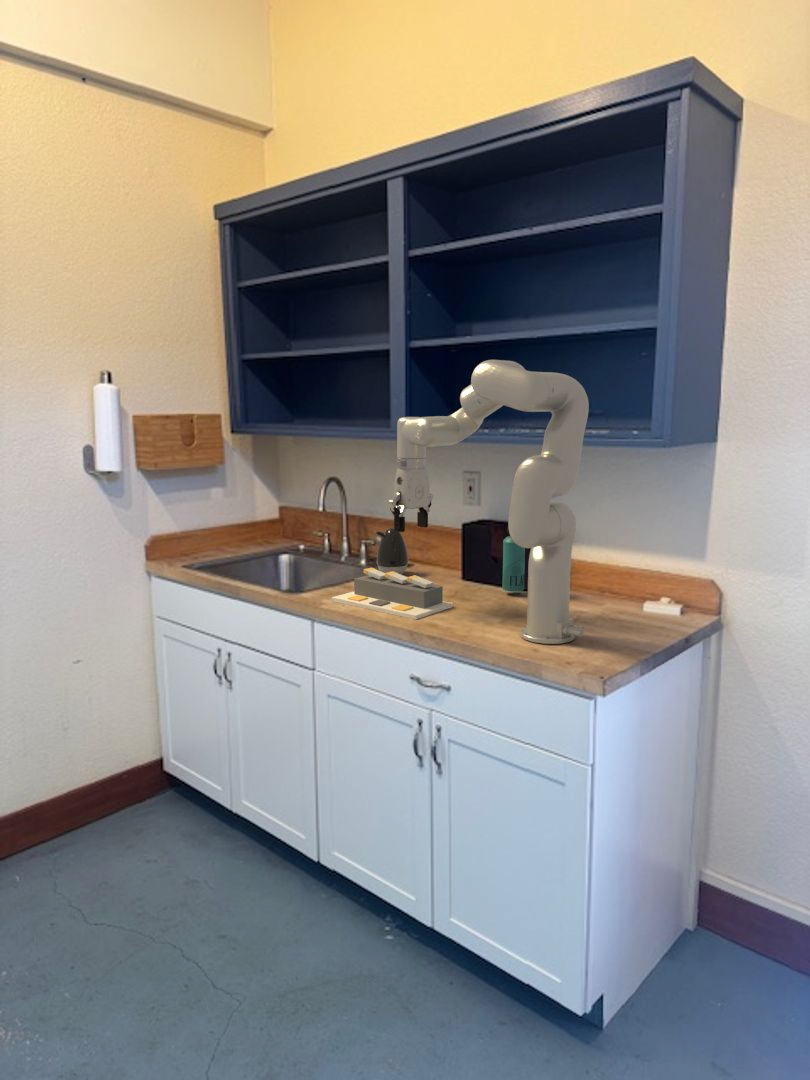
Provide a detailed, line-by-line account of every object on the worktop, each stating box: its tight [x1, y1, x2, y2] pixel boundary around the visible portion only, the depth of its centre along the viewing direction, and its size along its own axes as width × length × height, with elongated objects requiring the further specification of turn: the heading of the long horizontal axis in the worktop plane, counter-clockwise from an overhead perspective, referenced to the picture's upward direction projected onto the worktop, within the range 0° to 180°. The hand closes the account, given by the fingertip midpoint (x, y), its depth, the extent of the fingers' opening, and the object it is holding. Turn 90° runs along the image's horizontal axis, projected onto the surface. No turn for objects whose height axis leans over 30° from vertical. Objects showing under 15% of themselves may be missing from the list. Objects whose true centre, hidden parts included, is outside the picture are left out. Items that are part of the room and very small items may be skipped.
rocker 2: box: [406, 575, 434, 588], centre depth 202 cm, size 6×3×1 cm, turn 50°
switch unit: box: [331, 574, 454, 620], centre depth 206 cm, size 30×16×6 cm, turn 50°
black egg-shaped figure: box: [375, 527, 409, 575], centre depth 241 cm, size 10×10×15 cm
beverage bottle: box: [501, 526, 527, 593], centre depth 215 cm, size 6×7×20 cm
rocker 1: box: [362, 567, 386, 580], centre depth 212 cm, size 6×3×1 cm, turn 50°
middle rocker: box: [385, 571, 409, 584], centre depth 207 cm, size 6×3×1 cm, turn 50°
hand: (411, 529), depth 201 cm, fingers open, 9 cm apart
